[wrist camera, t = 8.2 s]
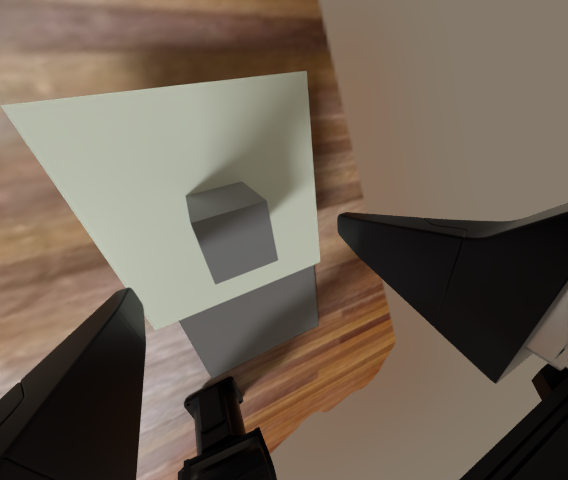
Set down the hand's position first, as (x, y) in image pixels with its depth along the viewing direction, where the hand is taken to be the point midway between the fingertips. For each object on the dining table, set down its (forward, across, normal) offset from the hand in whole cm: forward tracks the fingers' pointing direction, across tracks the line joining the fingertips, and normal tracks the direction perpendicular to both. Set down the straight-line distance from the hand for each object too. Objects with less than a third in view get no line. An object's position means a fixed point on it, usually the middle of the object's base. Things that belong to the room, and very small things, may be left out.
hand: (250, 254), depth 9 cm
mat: (+12, -1, +15) cm, 19 cm away
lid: (+7, 0, 0) cm, 7 cm away
